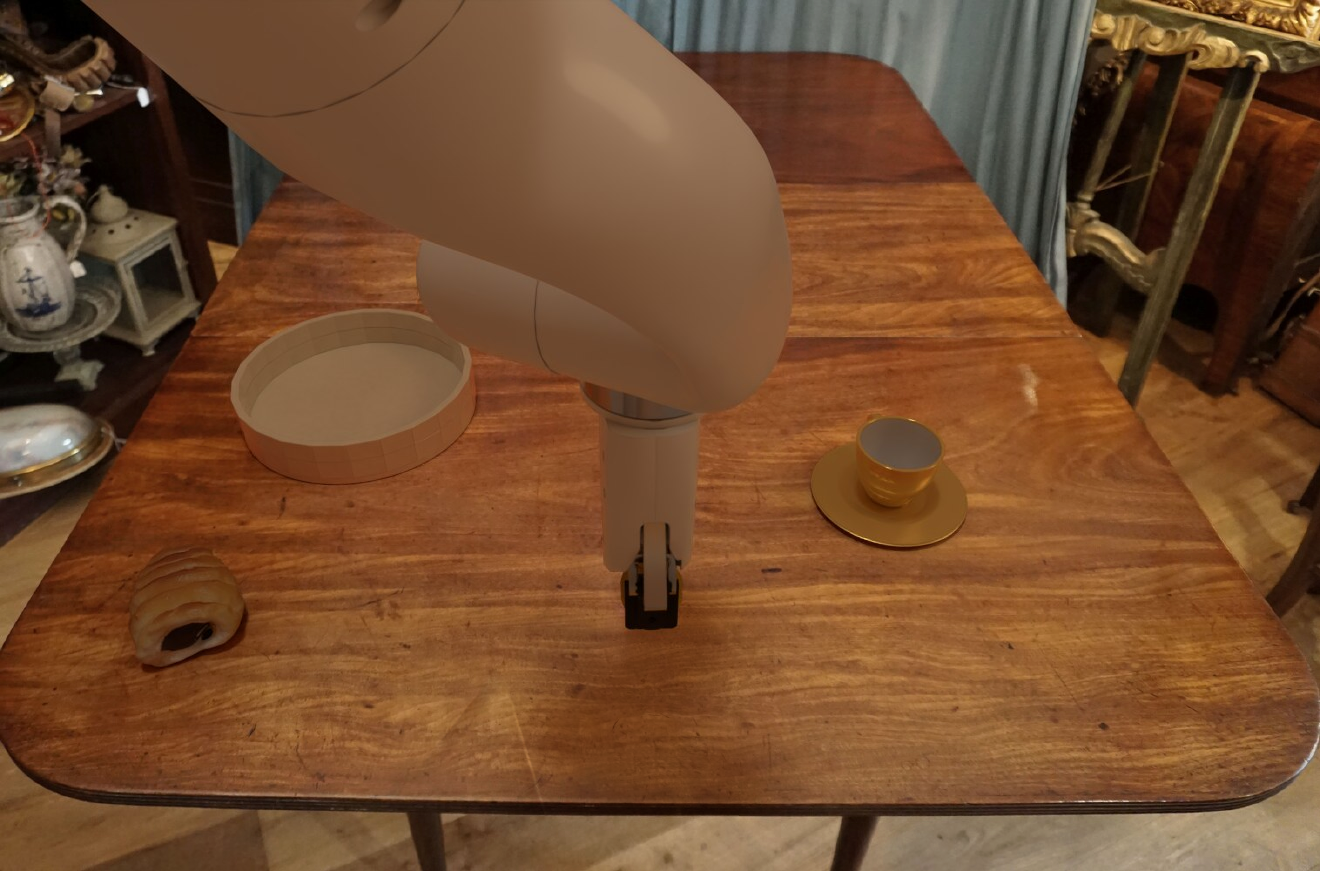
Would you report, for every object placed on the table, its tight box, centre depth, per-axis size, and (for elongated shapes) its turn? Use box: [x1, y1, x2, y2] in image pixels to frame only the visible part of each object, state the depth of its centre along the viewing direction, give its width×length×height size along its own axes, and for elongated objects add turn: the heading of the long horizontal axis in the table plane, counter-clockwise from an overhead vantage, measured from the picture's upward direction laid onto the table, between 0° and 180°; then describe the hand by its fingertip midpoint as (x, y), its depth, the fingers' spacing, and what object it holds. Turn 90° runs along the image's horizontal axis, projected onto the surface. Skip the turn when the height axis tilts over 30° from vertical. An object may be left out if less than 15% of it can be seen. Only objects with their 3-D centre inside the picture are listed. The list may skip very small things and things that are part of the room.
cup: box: [810, 413, 969, 548], centre depth 71 cm, size 12×12×5 cm
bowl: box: [230, 307, 477, 485], centre depth 79 cm, size 19×19×4 cm
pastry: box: [127, 542, 246, 668], centre depth 62 cm, size 9×7×4 cm
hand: (649, 593), depth 59 cm, fingers closed on chess piece, 4 cm apart
